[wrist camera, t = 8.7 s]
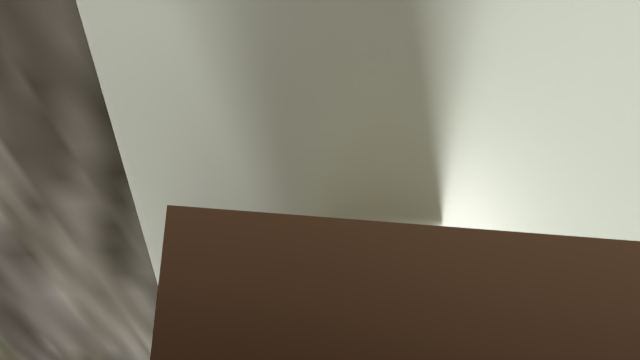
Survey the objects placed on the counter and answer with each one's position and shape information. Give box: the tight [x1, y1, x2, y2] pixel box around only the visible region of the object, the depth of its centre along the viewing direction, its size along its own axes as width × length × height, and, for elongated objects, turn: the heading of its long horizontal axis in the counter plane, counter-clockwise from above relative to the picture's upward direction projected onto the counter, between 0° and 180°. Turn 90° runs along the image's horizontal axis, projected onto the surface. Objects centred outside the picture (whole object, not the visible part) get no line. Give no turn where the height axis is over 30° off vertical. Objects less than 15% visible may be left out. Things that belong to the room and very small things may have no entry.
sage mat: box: [76, 0, 640, 284], centre depth 15 cm, size 19×20×1 cm
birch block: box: [150, 205, 640, 360], centre depth 10 cm, size 6×5×12 cm
